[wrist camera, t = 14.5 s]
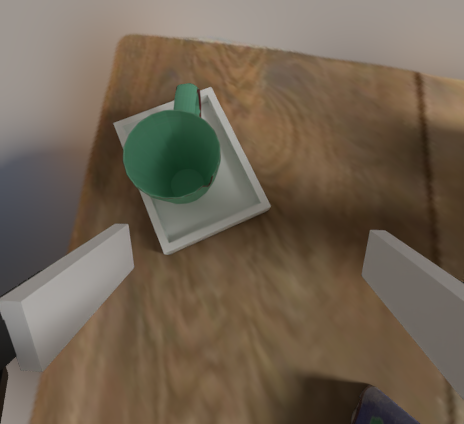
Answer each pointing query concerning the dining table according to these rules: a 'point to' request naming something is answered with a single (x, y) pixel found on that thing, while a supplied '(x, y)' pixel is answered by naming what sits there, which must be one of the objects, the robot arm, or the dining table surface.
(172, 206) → the cradle tray
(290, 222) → the dining table surface
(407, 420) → the flask
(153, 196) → the mug
